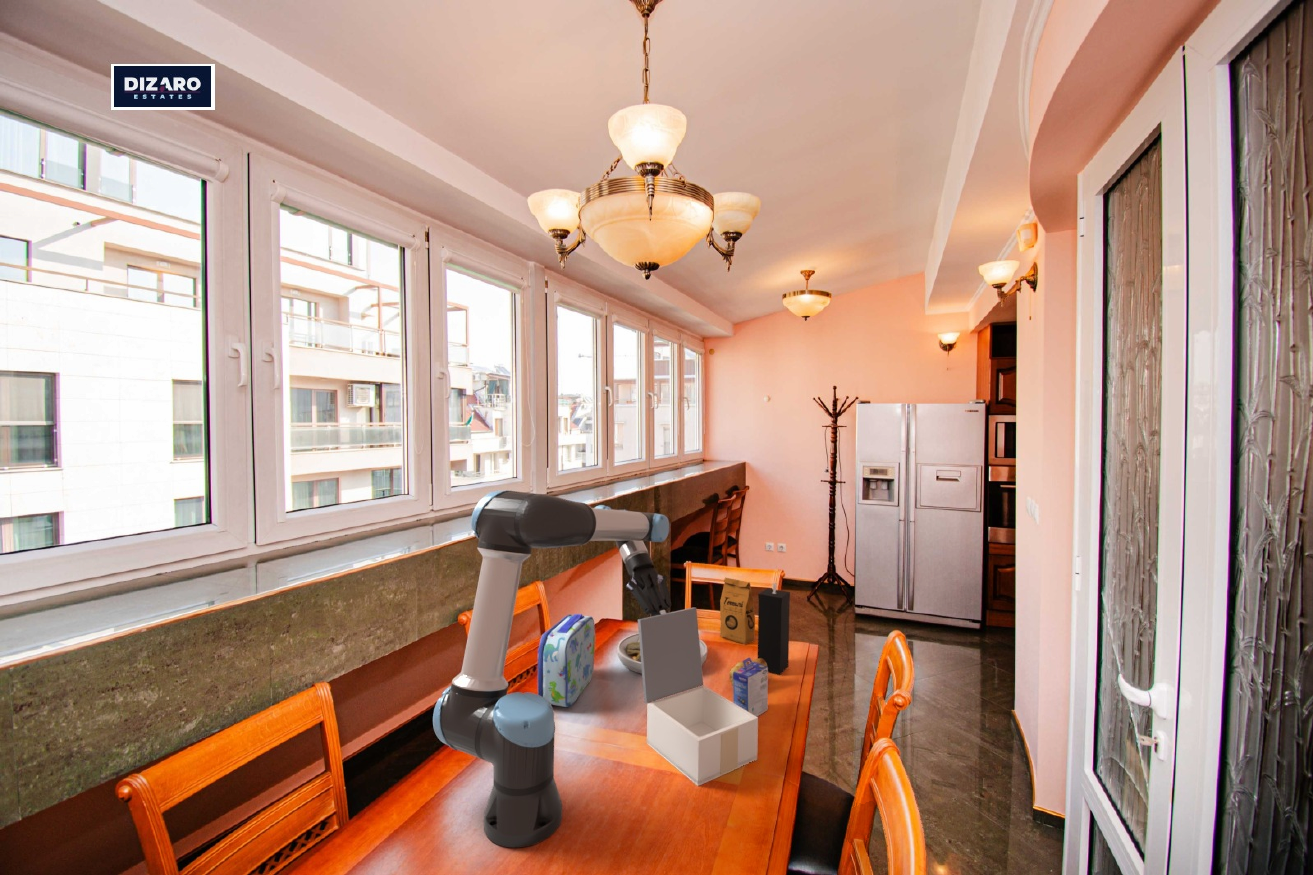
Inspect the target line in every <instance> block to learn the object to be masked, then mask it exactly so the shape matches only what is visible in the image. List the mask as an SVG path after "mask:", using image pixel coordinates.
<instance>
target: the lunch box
mask: <svg viewBox="0 0 1313 875" xmlns="http://www.w3.org/2000/svg"><path fill="white" fill-rule="evenodd" d="M594 620H595V619H594V618H593V616H590V615H589V616H588V615H583V614H582V613H580V614H579V613H578V614H577V613H574V614H567V615H565V616H564V617H562V618H561V620H559V621H558V622H557V623H556V624H554V625H553V626H552V627H551V628H549V629H548V630H546V631H545V632H544V633H543V634H542V635H541V637H540V641H539V645H538V649H537V695H540V696H542V697H543V698H545V699H546V700H547V701H548V702H549V703H550V704H551V705H553V706H558V707H564V708H568V707H569V708H570V707H571V706H573V705H574V704H575V702H576V701H577V699H578V697H579V696H580V695H581V694H582V692H583V691H584V689H585V688H586V687H587V686H588V684H589V683H590V681H591V680H592V677H593V673H594V664H595V663H594V662H595V651H596V650H595V649H596V628H595V627H596V626H595V625H596V624H595V621H594Z"/></svg>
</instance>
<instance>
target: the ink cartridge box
mask: <svg viewBox="0 0 1313 875" xmlns="http://www.w3.org/2000/svg"><path fill="white" fill-rule="evenodd" d="M742 661H743V665H744V667H742V668H740V669H739V670H737V671H735V672H733V686H732V688H733V691H732V692H733V693H732V694H733V695H732V698H733V699H732V700H733V701H732V702H733V703H734V704H736V705H738V706H739V707H741V708H743V709H744V710H746V711H748V712H749V713H751V714H753V715H754V716H756V717H759V716H760V715H762V714H764V713H765V712H767V711H768V710H769V707H768V706H769V702H768V701H769V699H768V698H769V695H768V694H769V692H768V691H769V689H768V687H769V685H768V682H769V681H768V678H769V676H768V674H769V672H768V667H767V666H764V665H761V664H758V663H756V662H752V659H751V657H748V658H745V659H743V660H742ZM747 661H748V662H750V663H749V664H748V665H746V662H747Z"/></svg>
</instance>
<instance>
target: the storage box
mask: <svg viewBox="0 0 1313 875" xmlns="http://www.w3.org/2000/svg"><path fill="white" fill-rule="evenodd" d="M646 704H647V705H646V706H647V707H646V710H647V711H646V714H647V716H646V744H647V745H648V746H649V747H650V748H651V749H653V750H654V751H655V752H656V753H657V754H659V755H660V756H661V757H662V758H664V759H665V760H666V761H667V762H669V764H671V765H672V766H673V767H674V768H676V769H677V770H678V771H679V772H680V773H682V775H684V776H685V777H686V778H687V779H689V780H690V781H691V782H692V783H693V784H694V785H696V786H697V787H699V786H701V785H704V784H705V783H708V782H710V781H713V780H715V779H717V778H719V777H721V776H724V775H725V774H729V773H730V772H733V771H734V769H735V770H737V769H739V768H741V766H742V767H743V765H744V766H747V765H748V764H750V763H749V762H751V763H753V762H755V761H757V760H758V738H759V736H758V734H759V732H758V729H759V716H757V717H756V716H754V715H753V714H751V713H749V712H748V711H746V710H744V709H743V708H741V707H739V706H738V705H736V704H734V703H733V701H731V700H729V699H727V698H726V697H724V696H722V695H721V694H719V693H717V692H715V691H714V690H712V689H711V688H709V687H707V686H706V685H704V684H703V685H702V686H699V687H696V688H693V689H690V690H687V691H684V692H681V693H678V694H674V695H671V696H668V697H665V698H662V699H659V700H656V701H653V702H650V703H646ZM754 760H755V761H754ZM752 761H753V762H752Z"/></svg>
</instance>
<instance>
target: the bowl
mask: <svg viewBox="0 0 1313 875" xmlns="http://www.w3.org/2000/svg"><path fill="white" fill-rule="evenodd" d="M699 643H700V654H701V665H703V664H704V662H706V659H707V656H708V646H707V644H706V643H705V642H704V641H703V640H702V639H700V638H699ZM616 649H617V650H616V652H617V656H618V659H619V661H620V662H621V663H622V665H623V666H624V667H626V668H627V669H629V670H630V671H632V672H635V673H637V674H640V675H642V667H641V655H640V642H639V632H637V633H634V634H630V635H628V636H626V637H624V638H622V639H621V640H620V641H619V642H618V643H617V648H616Z"/></svg>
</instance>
